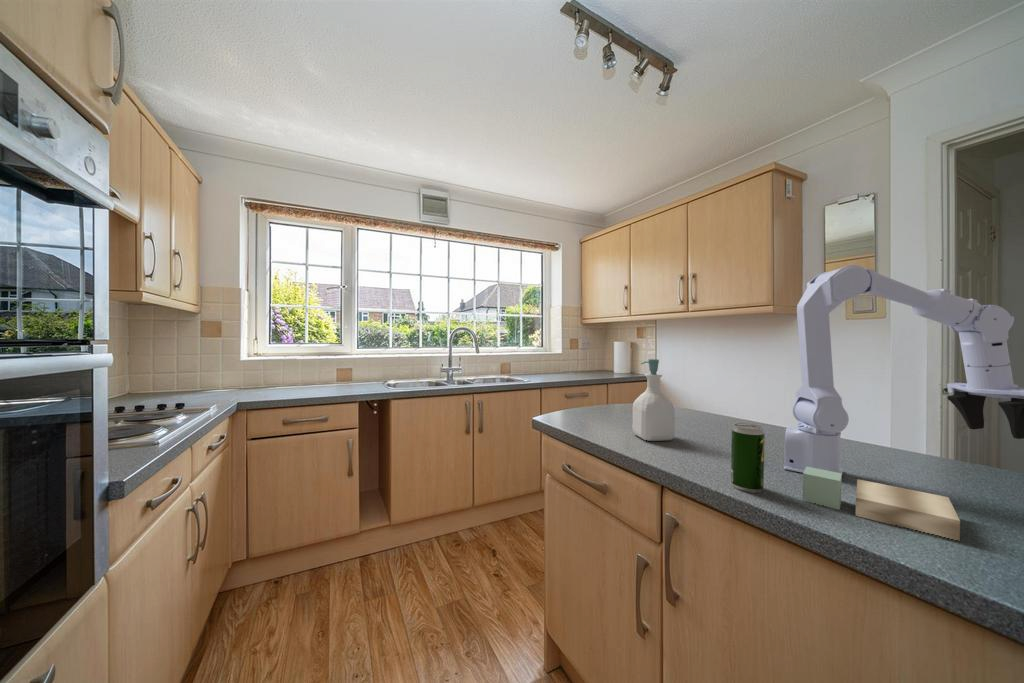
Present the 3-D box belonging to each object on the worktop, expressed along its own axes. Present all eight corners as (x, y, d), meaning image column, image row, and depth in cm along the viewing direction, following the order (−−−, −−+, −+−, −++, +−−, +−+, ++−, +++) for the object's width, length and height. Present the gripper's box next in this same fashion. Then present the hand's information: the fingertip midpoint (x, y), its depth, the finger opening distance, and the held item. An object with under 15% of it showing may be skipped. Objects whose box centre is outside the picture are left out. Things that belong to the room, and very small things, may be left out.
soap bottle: (629, 433, 112) (630, 357, 111) (660, 433, 113) (661, 357, 112) (644, 442, 102) (645, 360, 102) (677, 442, 103) (678, 360, 103)
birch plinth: (855, 515, 61) (855, 497, 61) (857, 495, 69) (857, 479, 69) (959, 541, 53) (960, 520, 53) (947, 515, 61) (948, 497, 61)
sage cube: (802, 501, 67) (802, 473, 67) (805, 492, 70) (806, 466, 70) (839, 510, 63) (840, 481, 63) (841, 501, 67) (841, 473, 67)
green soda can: (734, 491, 70) (735, 428, 70) (727, 480, 76) (728, 422, 75) (767, 495, 69) (769, 430, 69) (758, 484, 74) (759, 424, 74)
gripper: (1058, 364, 66) (1071, 440, 66) (968, 360, 81) (979, 422, 81) (1013, 369, 67) (1026, 444, 67) (932, 365, 82) (943, 426, 81)
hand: (998, 433), depth 74 cm, fingers open, 7 cm apart
